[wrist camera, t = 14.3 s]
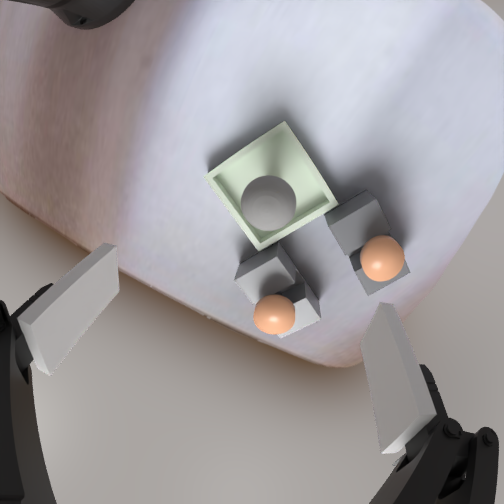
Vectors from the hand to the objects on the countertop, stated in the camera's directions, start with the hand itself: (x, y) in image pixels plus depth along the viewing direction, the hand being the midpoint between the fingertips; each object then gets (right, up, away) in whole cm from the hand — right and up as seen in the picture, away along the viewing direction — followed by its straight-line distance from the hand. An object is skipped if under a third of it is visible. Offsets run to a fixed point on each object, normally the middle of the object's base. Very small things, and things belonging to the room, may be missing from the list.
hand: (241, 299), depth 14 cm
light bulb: (+3, +10, +22) cm, 24 cm away
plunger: (+4, -3, +26) cm, 26 cm away
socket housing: (+10, +1, +26) cm, 28 cm away
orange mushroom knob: (+16, +3, +21) cm, 26 cm away
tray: (+3, +10, +22) cm, 25 cm away
